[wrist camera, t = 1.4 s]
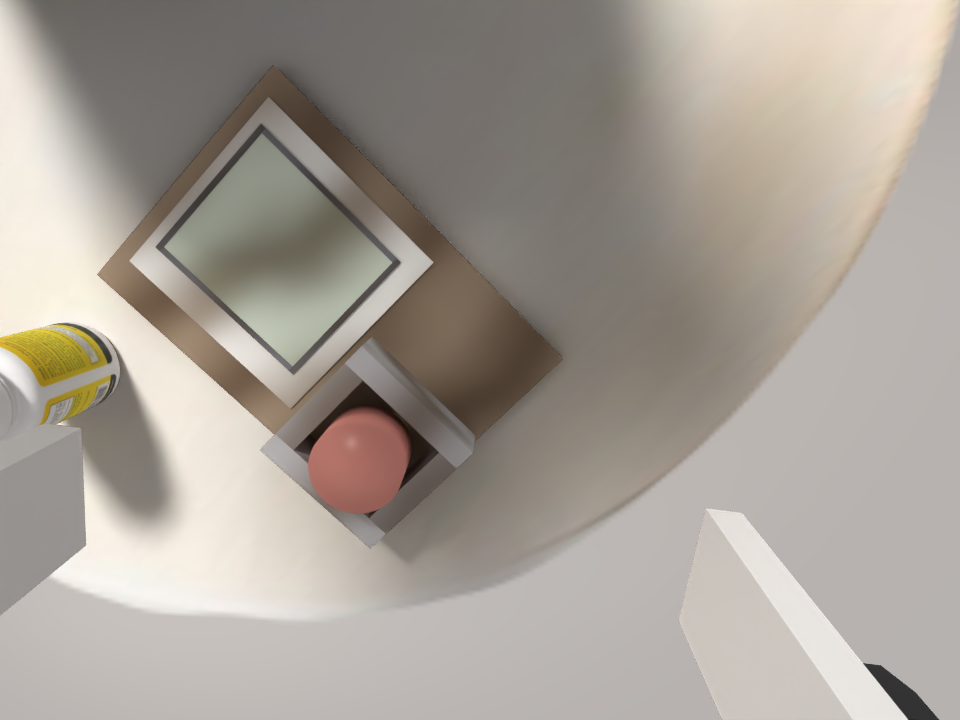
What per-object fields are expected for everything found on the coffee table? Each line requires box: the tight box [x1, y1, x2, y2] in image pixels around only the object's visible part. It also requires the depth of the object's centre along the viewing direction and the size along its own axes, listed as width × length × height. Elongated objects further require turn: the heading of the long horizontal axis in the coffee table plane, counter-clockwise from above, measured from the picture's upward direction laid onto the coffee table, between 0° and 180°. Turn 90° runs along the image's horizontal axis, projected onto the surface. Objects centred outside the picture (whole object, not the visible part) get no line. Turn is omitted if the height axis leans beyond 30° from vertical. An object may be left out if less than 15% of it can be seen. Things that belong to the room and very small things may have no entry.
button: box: [308, 405, 412, 514], centre depth 29 cm, size 4×4×3 cm
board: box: [97, 66, 563, 548], centre depth 30 cm, size 20×14×3 cm
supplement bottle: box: [0, 322, 120, 444], centre depth 29 cm, size 5×5×8 cm
